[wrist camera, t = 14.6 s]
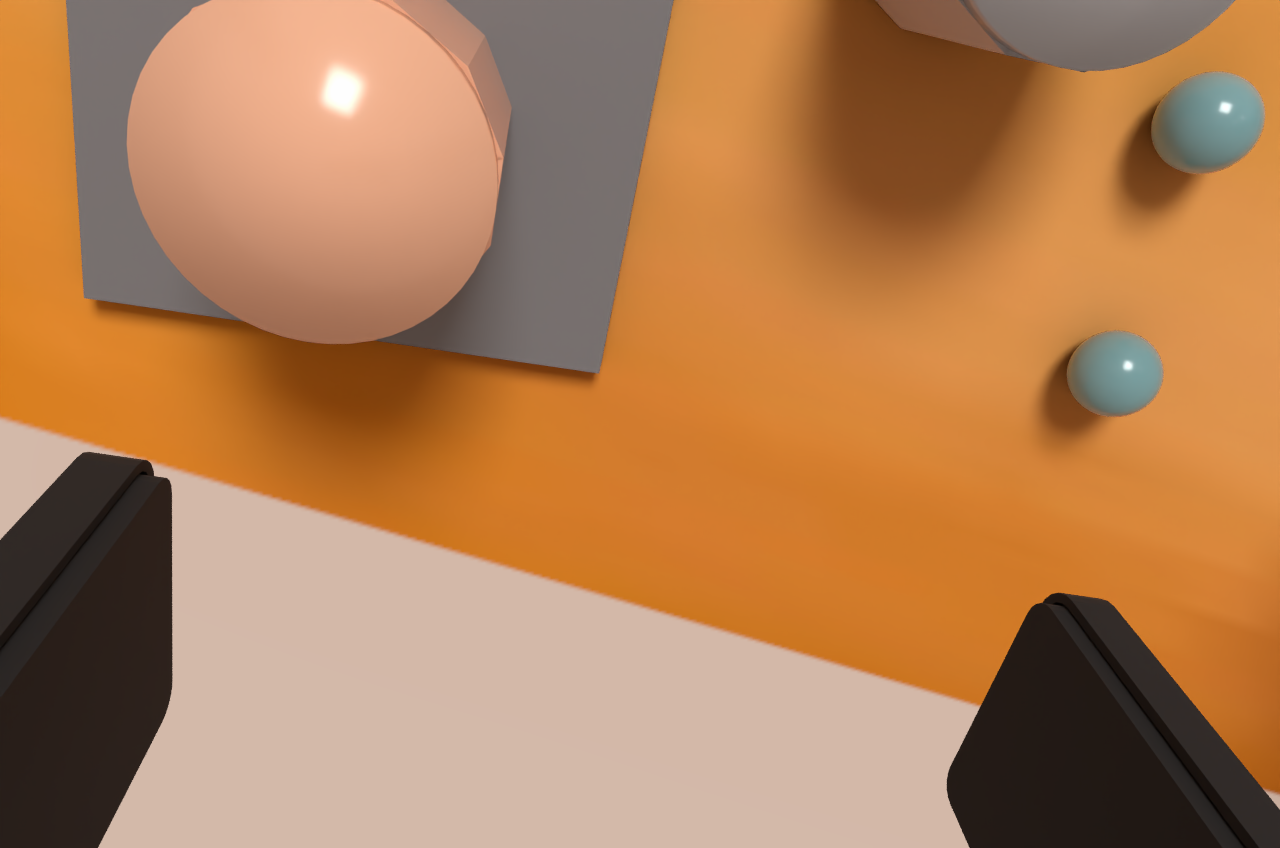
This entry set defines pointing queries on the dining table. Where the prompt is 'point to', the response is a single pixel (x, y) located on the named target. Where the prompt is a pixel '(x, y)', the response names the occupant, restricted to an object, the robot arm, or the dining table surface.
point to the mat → (529, 190)
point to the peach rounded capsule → (321, 160)
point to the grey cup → (1061, 27)
